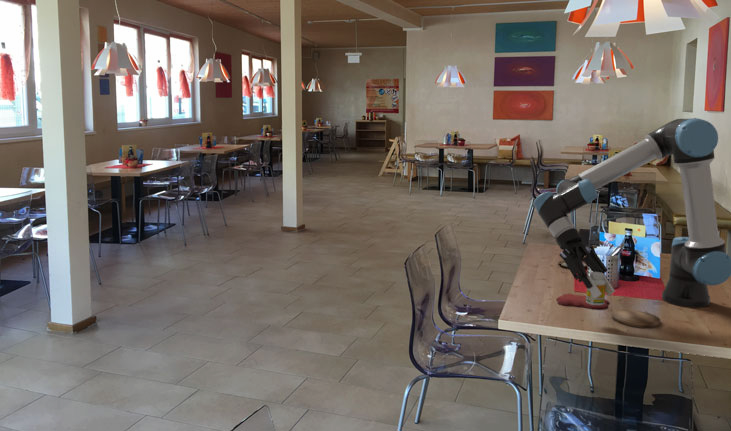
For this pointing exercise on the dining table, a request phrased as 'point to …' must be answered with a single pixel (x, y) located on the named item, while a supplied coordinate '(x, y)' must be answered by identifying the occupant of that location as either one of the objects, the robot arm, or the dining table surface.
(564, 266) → the burger
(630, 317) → the plate
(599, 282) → the supplement bottle
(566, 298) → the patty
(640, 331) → the dining table surface
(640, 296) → the dining table surface
